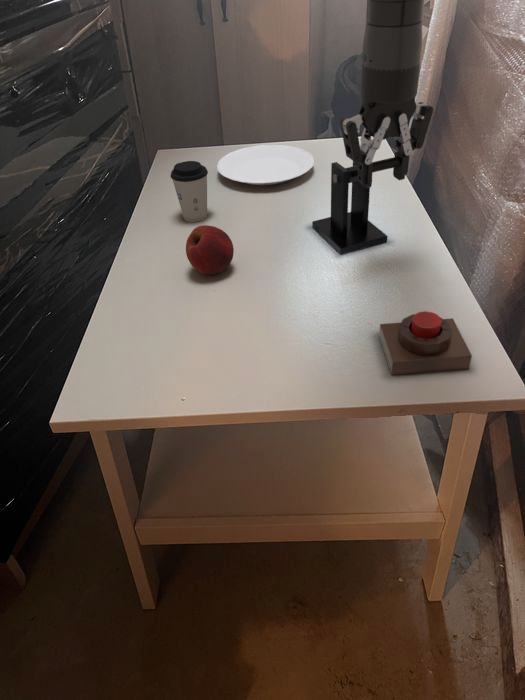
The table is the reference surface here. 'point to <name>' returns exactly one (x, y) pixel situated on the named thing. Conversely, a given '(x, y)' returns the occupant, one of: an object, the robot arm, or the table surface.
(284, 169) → the plate
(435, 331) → the button
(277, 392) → the table surface
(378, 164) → the black lever
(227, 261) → the apple
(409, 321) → the control block
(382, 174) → the table surface
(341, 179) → the lever stand
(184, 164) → the coffee cup
